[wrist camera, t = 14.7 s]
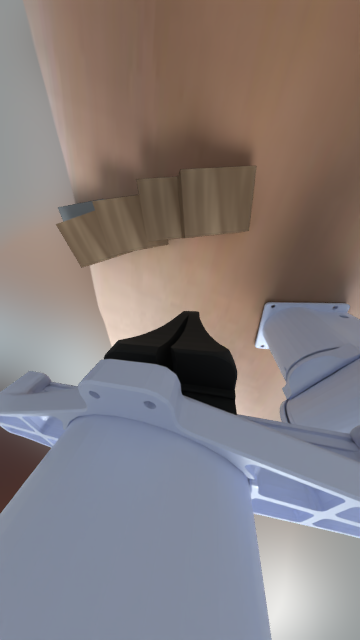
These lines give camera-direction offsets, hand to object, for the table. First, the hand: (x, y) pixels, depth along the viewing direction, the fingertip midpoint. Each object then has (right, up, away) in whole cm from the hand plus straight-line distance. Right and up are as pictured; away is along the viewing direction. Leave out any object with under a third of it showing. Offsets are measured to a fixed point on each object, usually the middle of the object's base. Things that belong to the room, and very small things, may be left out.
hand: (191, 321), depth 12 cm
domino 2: (+2, +12, +3) cm, 13 cm away
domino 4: (-8, +12, +6) cm, 15 cm away
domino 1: (+6, +12, +2) cm, 14 cm away
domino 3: (-3, +12, +5) cm, 13 cm away
